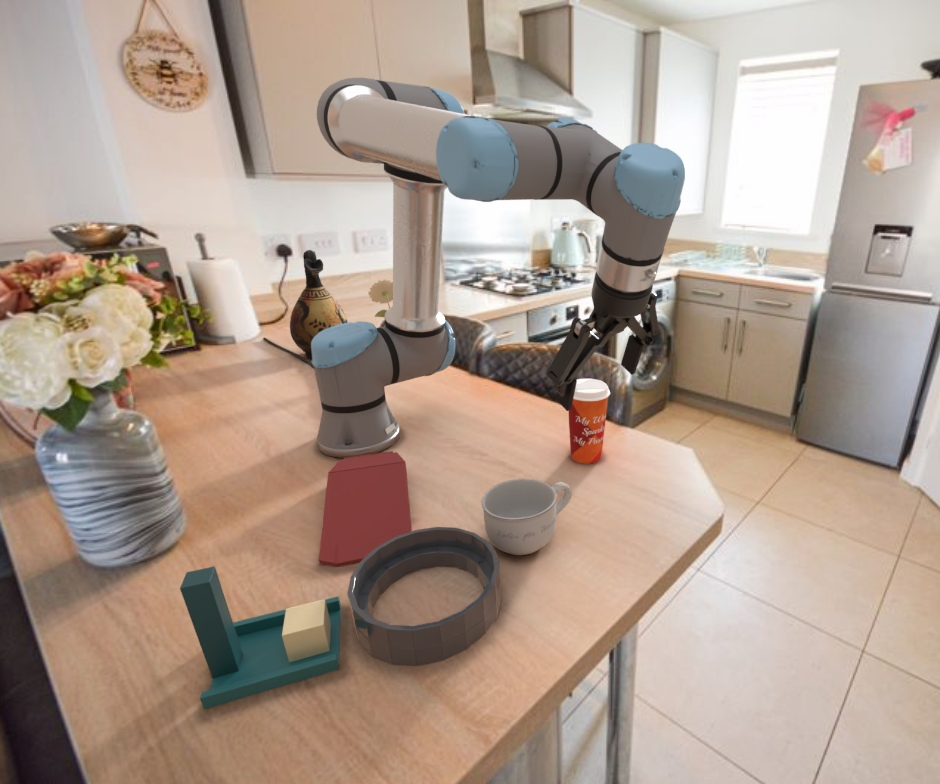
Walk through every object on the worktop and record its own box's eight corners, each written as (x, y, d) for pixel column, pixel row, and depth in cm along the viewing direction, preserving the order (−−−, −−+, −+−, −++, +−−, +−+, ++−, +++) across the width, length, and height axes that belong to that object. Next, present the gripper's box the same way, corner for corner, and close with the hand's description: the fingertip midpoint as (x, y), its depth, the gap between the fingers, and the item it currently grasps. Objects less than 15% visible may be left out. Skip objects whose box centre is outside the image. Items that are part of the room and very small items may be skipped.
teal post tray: (205, 714, 51) (168, 616, 46) (226, 640, 59) (195, 549, 54) (340, 674, 55) (318, 580, 50) (341, 610, 63) (323, 523, 58)
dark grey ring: (328, 616, 62) (319, 578, 60) (444, 545, 75) (440, 511, 73) (411, 700, 53) (405, 658, 50) (528, 602, 65) (527, 565, 63)
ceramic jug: (357, 357, 151) (341, 253, 140) (299, 366, 143) (277, 256, 131) (345, 342, 164) (330, 246, 152) (291, 350, 156) (270, 248, 144)
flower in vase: (428, 360, 150) (419, 274, 140) (428, 374, 140) (418, 282, 130) (380, 364, 146) (368, 275, 137) (377, 377, 136) (363, 283, 127)
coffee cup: (576, 470, 95) (578, 396, 89) (558, 451, 102) (558, 381, 96) (615, 461, 99) (619, 389, 93) (595, 442, 106) (597, 374, 100)
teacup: (494, 574, 70) (491, 526, 67) (477, 527, 79) (474, 483, 76) (587, 548, 75) (589, 503, 72) (561, 508, 84) (561, 466, 81)
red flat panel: (416, 571, 75) (406, 466, 95) (412, 548, 72) (403, 444, 92) (324, 591, 71) (334, 476, 91) (317, 567, 68) (329, 454, 88)
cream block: (289, 662, 56) (281, 635, 54) (292, 634, 59) (285, 608, 57) (329, 651, 57) (323, 624, 55) (331, 624, 60) (325, 598, 59)
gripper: (566, 329, 57) (548, 438, 73) (709, 263, 69) (667, 369, 85) (527, 291, 60) (518, 404, 76) (670, 235, 72) (636, 342, 88)
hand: (597, 386), depth 81 cm, fingers open, 13 cm apart
